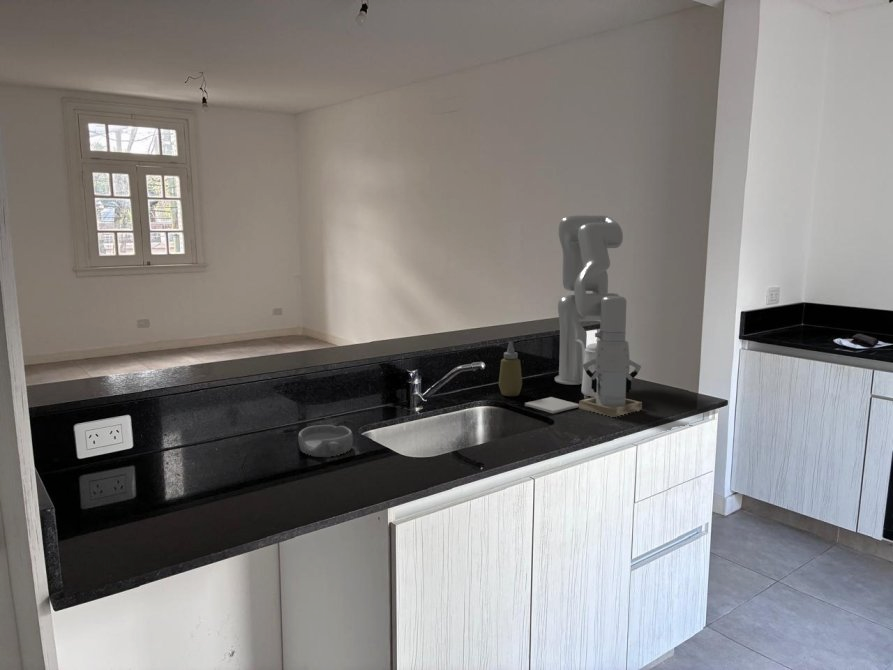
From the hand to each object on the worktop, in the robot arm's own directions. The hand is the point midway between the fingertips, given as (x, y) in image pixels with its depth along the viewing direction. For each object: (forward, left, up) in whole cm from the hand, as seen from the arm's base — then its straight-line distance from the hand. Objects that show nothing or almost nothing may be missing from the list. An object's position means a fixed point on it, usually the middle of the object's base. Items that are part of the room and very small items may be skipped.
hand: (610, 391), depth 204 cm
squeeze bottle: (+11, -33, -6) cm, 35 cm away
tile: (+11, -14, -6) cm, 19 cm away
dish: (+86, -22, -6) cm, 89 cm away
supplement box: (0, 0, -6) cm, 6 cm away
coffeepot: (-12, -15, -6) cm, 20 cm away
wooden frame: (0, 0, -6) cm, 6 cm away
